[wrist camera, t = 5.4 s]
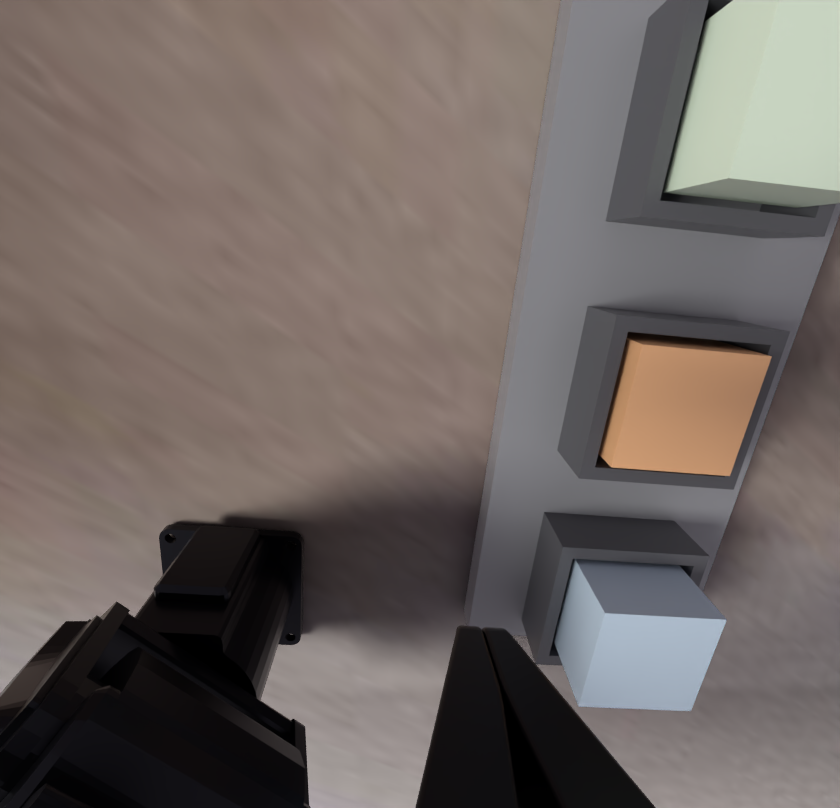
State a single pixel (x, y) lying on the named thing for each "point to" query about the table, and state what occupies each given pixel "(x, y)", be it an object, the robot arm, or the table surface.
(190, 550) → the robot arm
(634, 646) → the blue grey button
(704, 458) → the terracotta button
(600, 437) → the button panel
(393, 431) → the table surface
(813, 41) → the sage button
